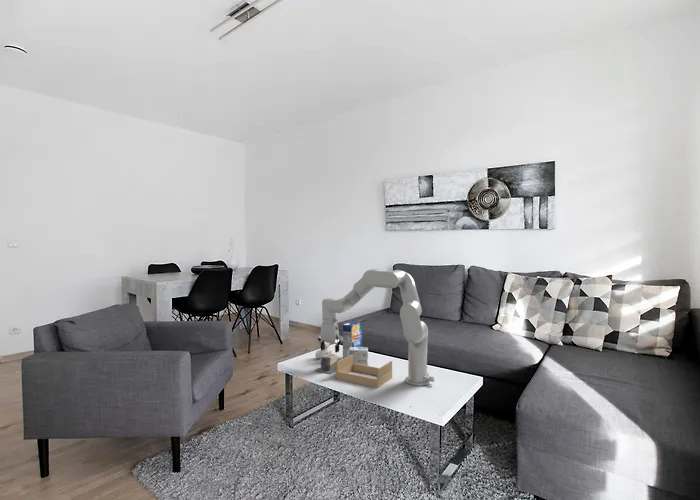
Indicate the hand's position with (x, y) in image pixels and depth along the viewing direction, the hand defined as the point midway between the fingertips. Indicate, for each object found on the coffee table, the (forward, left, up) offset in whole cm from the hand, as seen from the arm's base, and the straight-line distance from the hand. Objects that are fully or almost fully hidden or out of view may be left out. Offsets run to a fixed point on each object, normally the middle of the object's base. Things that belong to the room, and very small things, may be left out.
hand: (330, 350), depth 224 cm
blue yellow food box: (-1, -23, -11) cm, 25 cm away
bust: (+15, -16, -11) cm, 24 cm away
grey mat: (+1, 0, -11) cm, 11 cm away
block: (+1, 0, -10) cm, 10 cm away
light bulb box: (-11, -13, -11) cm, 20 cm away
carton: (-23, +2, -11) cm, 26 cm away
